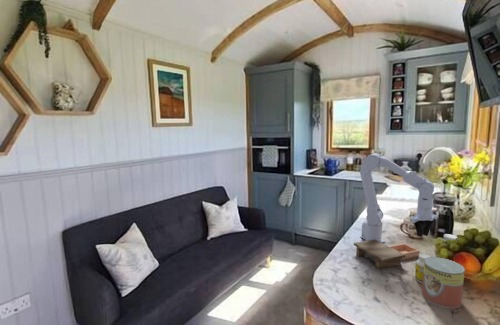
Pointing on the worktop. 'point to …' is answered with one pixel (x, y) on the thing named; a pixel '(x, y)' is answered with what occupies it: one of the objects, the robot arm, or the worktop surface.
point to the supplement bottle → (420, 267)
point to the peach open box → (406, 251)
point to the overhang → (379, 253)
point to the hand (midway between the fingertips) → (422, 235)
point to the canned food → (443, 282)
